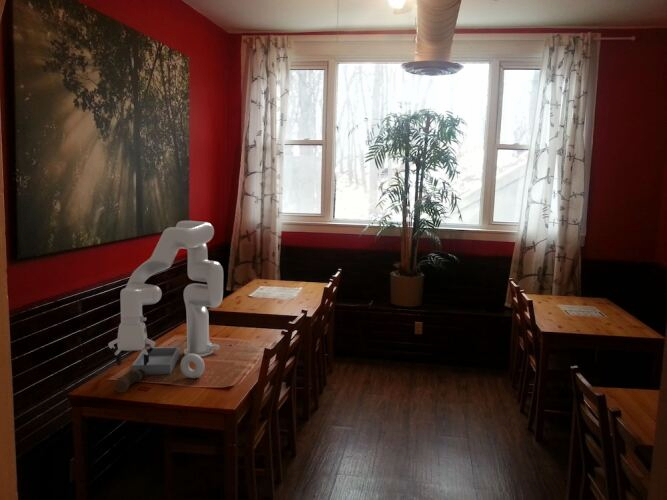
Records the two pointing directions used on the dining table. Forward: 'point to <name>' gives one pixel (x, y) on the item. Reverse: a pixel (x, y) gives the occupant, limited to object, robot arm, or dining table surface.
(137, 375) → the bolt
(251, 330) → the dining table surface
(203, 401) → the dining table surface
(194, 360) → the donut
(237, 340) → the dining table surface
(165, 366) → the bin
